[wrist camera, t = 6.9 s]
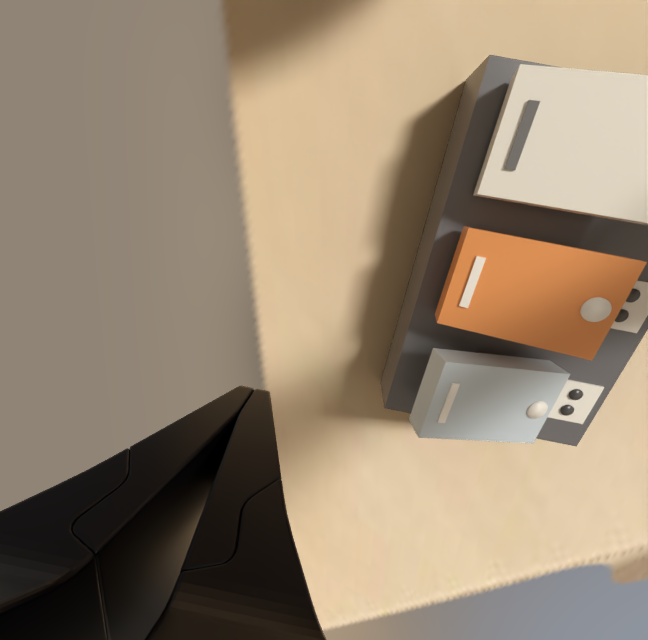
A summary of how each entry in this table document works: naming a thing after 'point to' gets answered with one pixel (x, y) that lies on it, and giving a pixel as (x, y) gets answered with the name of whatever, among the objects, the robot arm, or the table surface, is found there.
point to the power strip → (518, 220)
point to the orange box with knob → (535, 291)
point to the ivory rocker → (571, 143)
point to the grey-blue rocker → (485, 396)
